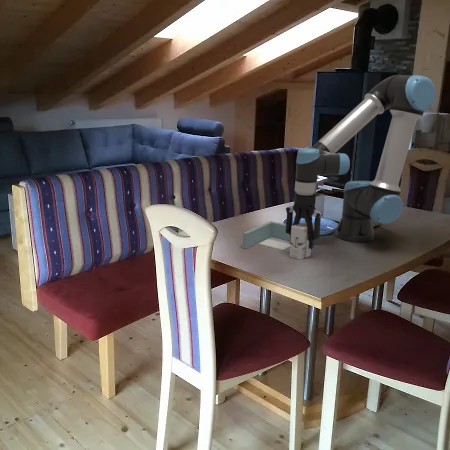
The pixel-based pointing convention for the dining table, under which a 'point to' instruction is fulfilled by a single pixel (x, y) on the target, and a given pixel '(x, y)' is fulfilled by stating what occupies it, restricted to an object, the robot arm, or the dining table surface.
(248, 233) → the teal angle bracket
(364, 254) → the dining table surface
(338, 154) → the robot arm
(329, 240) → the dining table surface
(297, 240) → the ink box
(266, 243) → the pad
